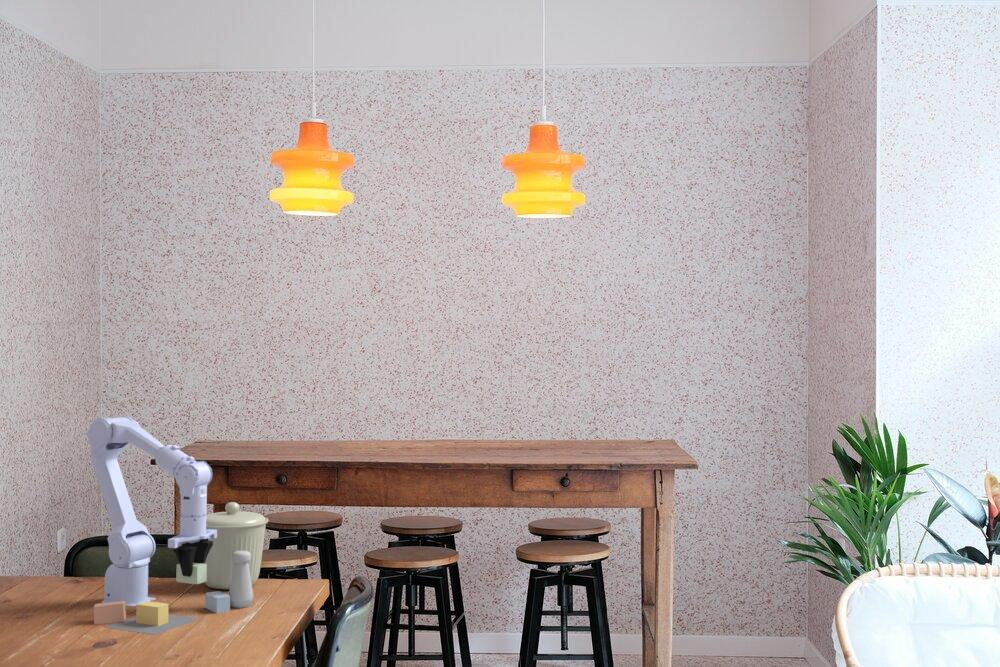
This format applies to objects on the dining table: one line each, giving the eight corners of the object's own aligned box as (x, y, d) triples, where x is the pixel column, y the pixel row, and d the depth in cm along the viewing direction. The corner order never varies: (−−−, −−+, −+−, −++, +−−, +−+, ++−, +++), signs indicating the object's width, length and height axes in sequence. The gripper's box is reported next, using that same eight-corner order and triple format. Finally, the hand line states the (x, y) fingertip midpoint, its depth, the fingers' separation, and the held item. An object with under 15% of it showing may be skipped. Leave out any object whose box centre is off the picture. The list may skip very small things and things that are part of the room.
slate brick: (205, 610, 228) (205, 593, 228) (218, 608, 230) (218, 591, 231) (216, 615, 224) (216, 598, 224) (229, 613, 226) (230, 595, 226)
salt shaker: (246, 611, 227) (247, 554, 228) (223, 610, 228) (224, 553, 229) (257, 605, 233) (258, 549, 233) (234, 603, 234) (235, 548, 234)
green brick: (176, 581, 229) (176, 564, 229) (185, 579, 232) (185, 561, 232) (197, 584, 226) (197, 566, 226) (206, 581, 229) (206, 563, 229)
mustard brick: (136, 622, 215) (136, 604, 215) (146, 619, 218) (147, 600, 218) (157, 626, 213) (158, 607, 213) (168, 622, 216) (168, 603, 216)
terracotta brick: (94, 625, 214) (93, 606, 214) (96, 622, 217) (95, 603, 217) (124, 621, 215) (123, 603, 216) (126, 618, 218) (124, 600, 219)
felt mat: (103, 629, 212) (103, 626, 212) (149, 613, 225) (149, 611, 225) (154, 637, 206) (154, 634, 206) (199, 620, 219) (199, 618, 219)
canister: (229, 597, 240) (230, 510, 241) (178, 587, 250) (179, 503, 250) (282, 583, 255) (283, 501, 256) (232, 574, 265) (234, 495, 265)
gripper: (186, 521, 221) (184, 582, 221) (227, 511, 234) (226, 569, 234) (161, 518, 224) (159, 579, 223) (203, 509, 237) (202, 566, 237)
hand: (192, 574), depth 229 cm, fingers closed on green brick, 3 cm apart
